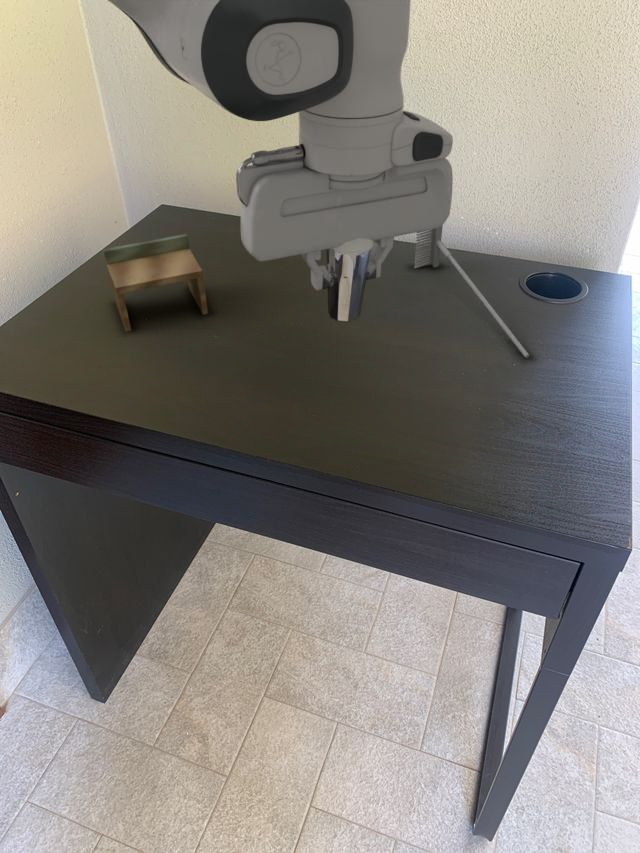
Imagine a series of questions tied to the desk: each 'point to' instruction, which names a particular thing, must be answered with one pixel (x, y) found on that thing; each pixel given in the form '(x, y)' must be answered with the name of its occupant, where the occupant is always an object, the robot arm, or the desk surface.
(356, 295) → the milkshake
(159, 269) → the bench
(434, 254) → the brush
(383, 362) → the desk surface
